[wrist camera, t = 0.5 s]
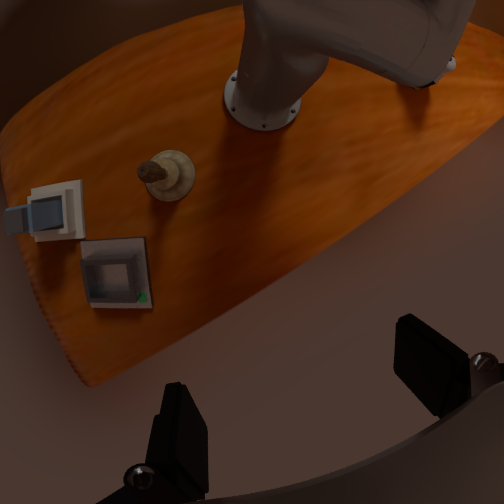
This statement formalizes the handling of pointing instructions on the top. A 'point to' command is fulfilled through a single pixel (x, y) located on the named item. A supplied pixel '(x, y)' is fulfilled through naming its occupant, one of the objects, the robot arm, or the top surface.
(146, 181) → the hand bell
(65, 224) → the box
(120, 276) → the port
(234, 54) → the top surface
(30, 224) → the plug
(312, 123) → the top surface
